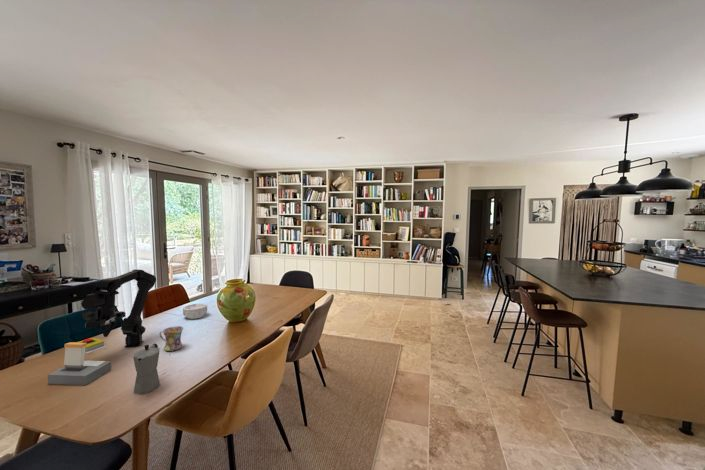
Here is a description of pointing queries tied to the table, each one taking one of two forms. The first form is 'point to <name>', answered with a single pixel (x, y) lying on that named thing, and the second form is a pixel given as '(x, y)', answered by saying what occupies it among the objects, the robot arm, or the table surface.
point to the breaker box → (79, 373)
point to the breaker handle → (74, 355)
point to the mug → (172, 338)
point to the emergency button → (93, 344)
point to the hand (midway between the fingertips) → (105, 336)
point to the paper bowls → (195, 311)
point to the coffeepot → (146, 369)
